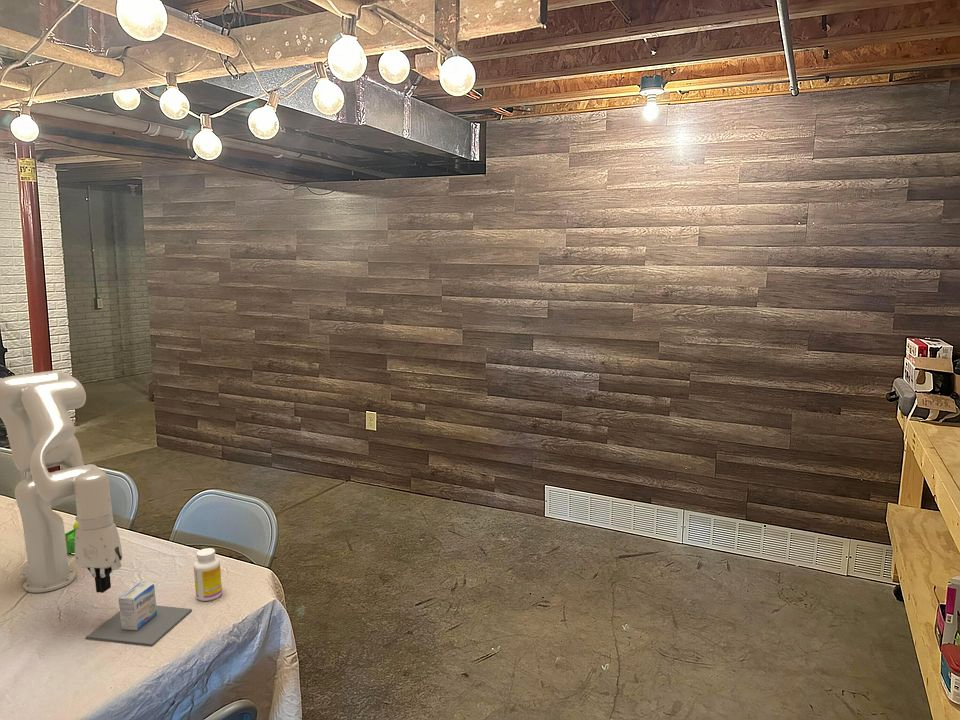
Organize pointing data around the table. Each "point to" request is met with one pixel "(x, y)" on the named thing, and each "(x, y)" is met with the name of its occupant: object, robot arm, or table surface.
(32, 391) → the robot arm
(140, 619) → the medicine box
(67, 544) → the fruit basket
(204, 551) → the supplement bottle
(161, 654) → the table surface
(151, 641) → the mat
